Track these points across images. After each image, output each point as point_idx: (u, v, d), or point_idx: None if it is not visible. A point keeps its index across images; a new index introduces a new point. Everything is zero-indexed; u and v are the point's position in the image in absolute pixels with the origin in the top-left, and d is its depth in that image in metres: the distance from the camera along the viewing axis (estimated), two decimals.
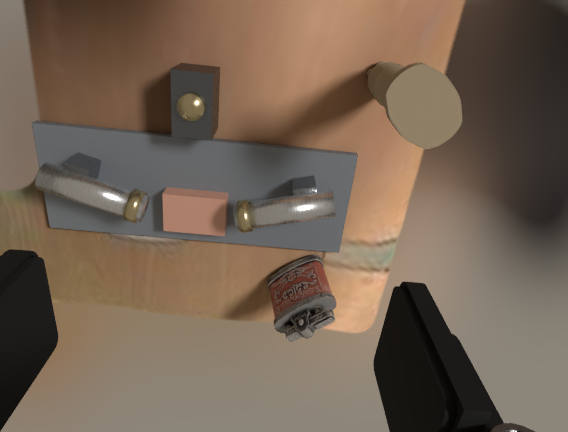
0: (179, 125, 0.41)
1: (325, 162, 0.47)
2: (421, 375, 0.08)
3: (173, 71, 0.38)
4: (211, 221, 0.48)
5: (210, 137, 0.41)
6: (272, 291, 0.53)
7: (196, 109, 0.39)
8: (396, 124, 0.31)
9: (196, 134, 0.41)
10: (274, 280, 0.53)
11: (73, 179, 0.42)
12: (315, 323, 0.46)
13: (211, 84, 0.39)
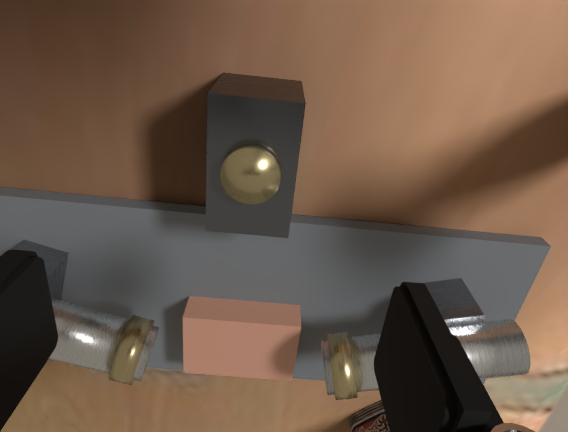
0: (223, 208, 0.19)
1: (486, 257, 0.25)
2: (421, 375, 0.08)
3: (214, 98, 0.17)
4: (271, 359, 0.26)
5: (286, 232, 0.20)
6: None
7: (263, 181, 0.18)
8: None
9: (257, 226, 0.20)
10: (362, 422, 0.33)
11: None
12: None
13: (299, 126, 0.17)
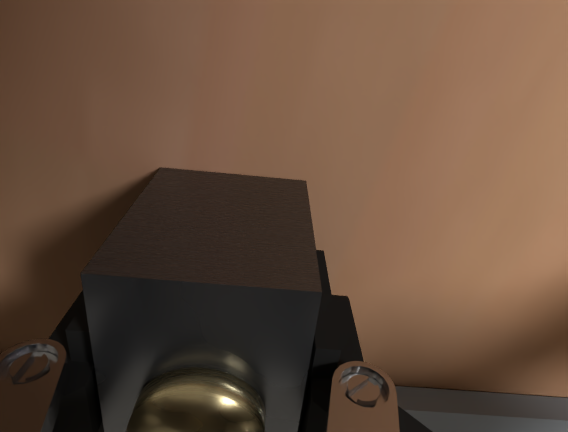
0: None
1: None
2: None
3: (100, 283, 0.07)
4: None
5: None
6: None
7: None
8: None
9: None
10: None
11: None
12: None
13: (307, 336, 0.07)
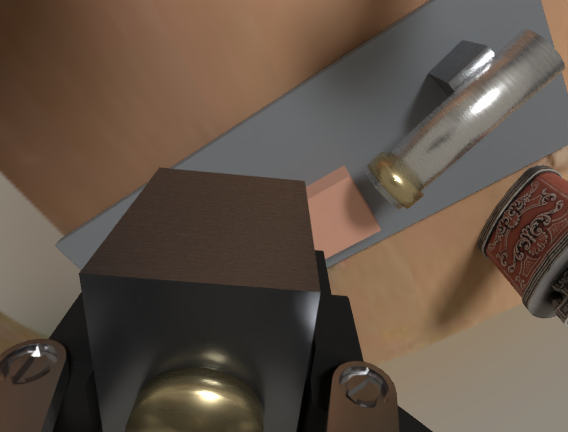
0: None
1: (469, 2, 0.24)
2: None
3: (99, 283, 0.07)
4: (348, 221, 0.28)
5: None
6: (493, 258, 0.31)
7: None
8: None
9: None
10: (487, 240, 0.31)
11: None
12: None
13: (305, 336, 0.07)
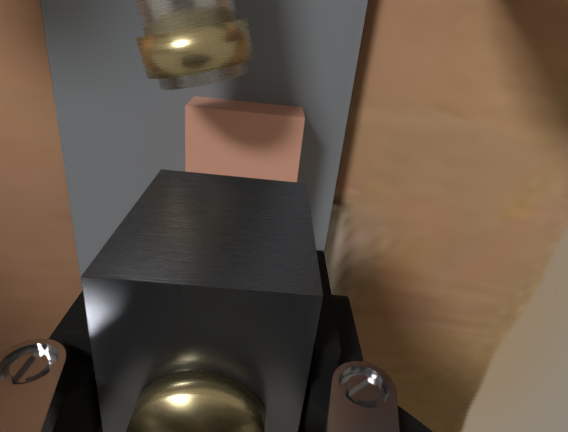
0: None
1: None
2: None
3: (101, 286, 0.07)
4: (256, 150, 0.17)
5: None
6: None
7: None
8: None
9: None
10: None
11: None
12: None
13: (307, 340, 0.07)
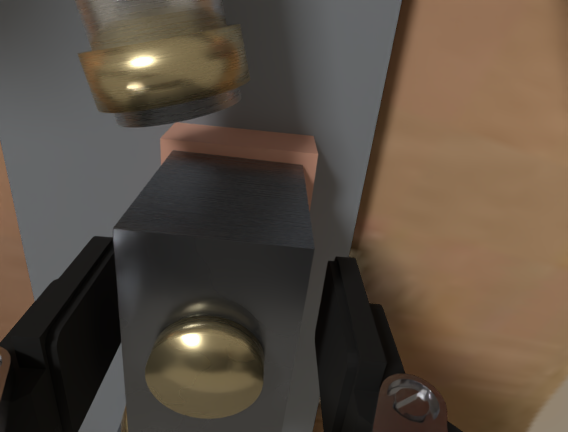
0: (159, 411, 0.10)
1: None
2: (337, 336, 0.09)
3: (128, 237, 0.08)
4: None
5: None
6: None
7: (230, 385, 0.09)
8: None
9: None
10: None
11: None
12: None
13: (301, 288, 0.09)
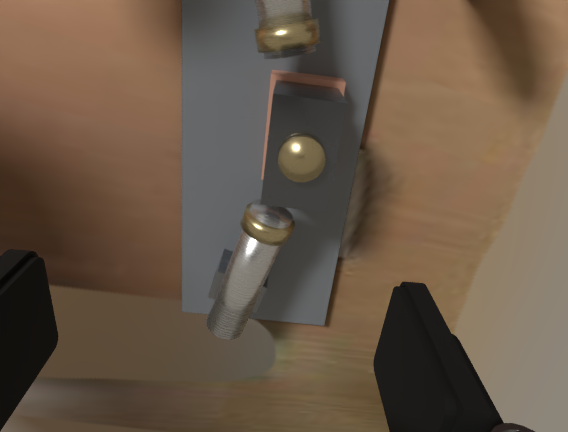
0: (276, 186, 0.24)
1: None
2: (421, 375, 0.08)
3: (278, 97, 0.22)
4: None
5: (325, 207, 0.24)
6: None
7: (311, 163, 0.23)
8: None
9: (302, 202, 0.24)
10: None
11: (221, 295, 0.30)
12: None
13: (341, 121, 0.22)
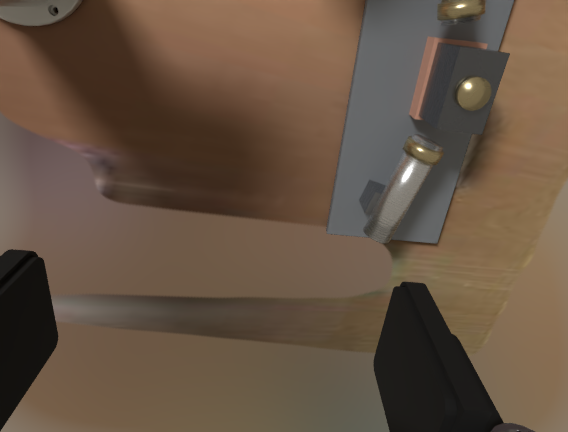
0: (450, 115, 0.34)
1: None
2: (421, 375, 0.08)
3: (463, 49, 0.32)
4: None
5: (481, 130, 0.35)
6: None
7: (481, 96, 0.33)
8: None
9: (466, 127, 0.35)
10: None
11: (382, 207, 0.40)
12: None
13: (503, 66, 0.32)
